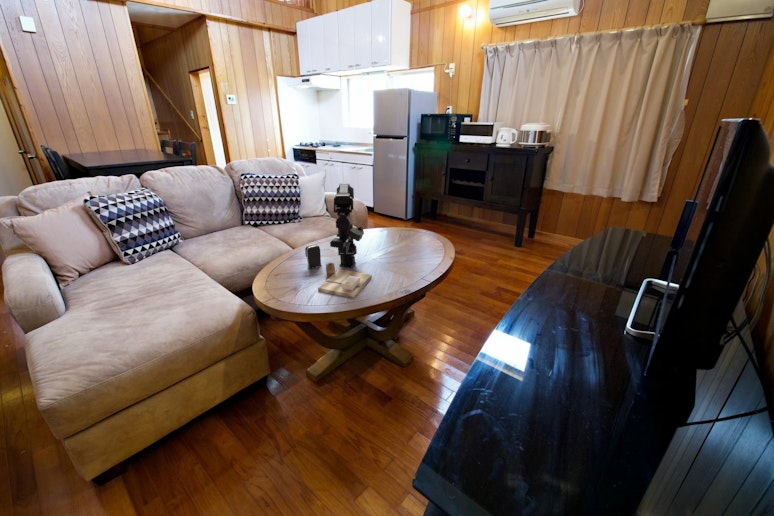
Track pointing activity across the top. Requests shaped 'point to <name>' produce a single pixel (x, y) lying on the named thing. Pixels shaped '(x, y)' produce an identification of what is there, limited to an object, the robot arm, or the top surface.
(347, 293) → the plank
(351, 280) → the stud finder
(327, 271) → the brown knobbed cylinder
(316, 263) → the battery charger
